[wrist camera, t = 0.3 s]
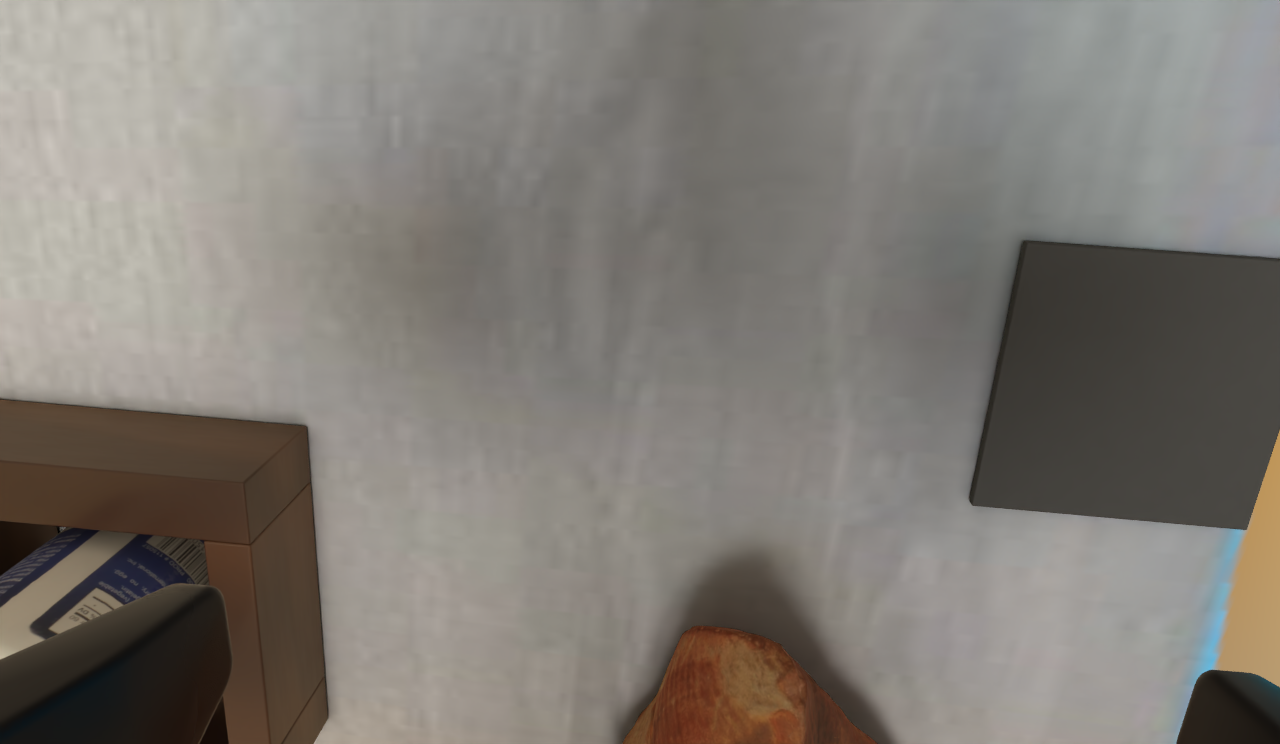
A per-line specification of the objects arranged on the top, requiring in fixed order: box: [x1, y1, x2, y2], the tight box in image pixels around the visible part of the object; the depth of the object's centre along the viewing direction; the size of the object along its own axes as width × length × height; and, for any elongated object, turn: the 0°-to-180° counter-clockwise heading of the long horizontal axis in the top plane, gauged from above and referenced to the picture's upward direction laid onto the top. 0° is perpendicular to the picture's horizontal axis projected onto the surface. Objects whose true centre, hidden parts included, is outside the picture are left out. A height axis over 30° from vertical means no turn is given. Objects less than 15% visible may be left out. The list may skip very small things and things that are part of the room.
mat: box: [970, 241, 1280, 530], centre depth 22 cm, size 7×7×1 cm
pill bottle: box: [0, 527, 209, 659], centre depth 22 cm, size 5×5×10 cm
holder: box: [0, 400, 328, 744], centre depth 25 cm, size 10×9×4 cm
